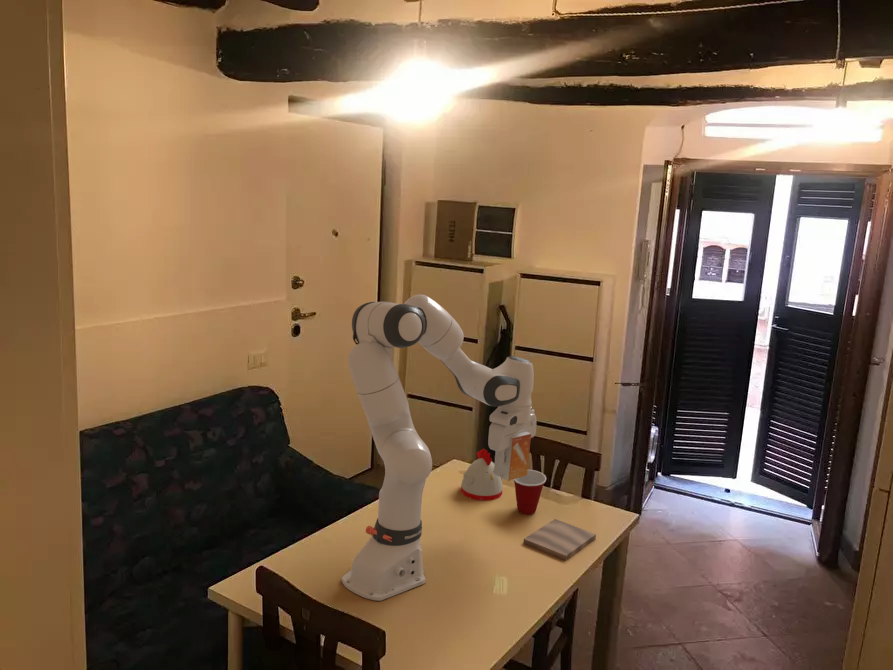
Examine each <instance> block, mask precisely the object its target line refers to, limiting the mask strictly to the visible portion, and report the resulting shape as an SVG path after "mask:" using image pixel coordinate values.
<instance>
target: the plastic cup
mask: <svg viewBox="0 0 893 670" xmlns="http://www.w3.org/2000/svg"><path fill="white" fill-rule="evenodd" d="M512 481H513V483H514V489H515V490H514V491H515V499H516V508H517V512H519V514H522V515H528V516H529V515H530V516H531V515H534V514H535V513H536V512H537V508H538V505H539V503H540V502H539V501H540V498H541V495H542V491H543V487H544V485H545V483H546V481H547V476H546V474H544V473H542V472H540V471H538V470H534V469H528V470H527V476H523V477H519V478H516V479H513V480H512Z"/></svg>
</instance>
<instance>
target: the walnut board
mask: <svg viewBox="0 0 893 670" xmlns="http://www.w3.org/2000/svg"><path fill="white" fill-rule="evenodd" d="M596 538H597V533H594V532H592V531H588V530H586V529H583V528H581V527H578V526H575V525H572V524H570V523H566V522H564V521H561V520H559V519H557V518H554V519H553V520H551V521H549V522H548V523H546V524H545V525H543V526H542V527H540V528H538V529H536V530H535V531H534V532H532V533H530V534H529V535H527V536H525V537H524V538H523V544H524V545H527V546H529V547H532V548H533V549H536V550H538V551H541V552H544V553H546V554H548V555H551V556H553V557H556V558H558V559H561V560H563V561H567V560H569V559H570V558H571V557H573V556H574V555H576V554H577V553H579V552H580V551H582V550H583V549H584V548H585V547H587V546H588V545H590V544H591V543H592V542H594V541H595V540H596Z"/></svg>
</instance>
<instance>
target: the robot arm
mask: <svg viewBox="0 0 893 670" xmlns="http://www.w3.org/2000/svg"><path fill="white" fill-rule="evenodd" d="M351 328H352V340H353V342H354V343H355V345H354V346H353V347H352V348H351V349H350V351H349V353H348V357H347V358H348V359H347V361H348V367H349V372H350V376H351V380H352V382H353V386H354V389H355V391H356V395H357V396H358V399H359V401H360V402H359V403H360V404H361V407H362V409H363V412H364V415H365V417H366V420H367V423H368V427H369V429H370V433H371V435H372V436H371V437H372V439H373V441H374V444H375V447H376V451H377V453H378V455H379V456H380V458H381V459H382V461H383V463H384V470H385V471H384V473H385V474H384V477H383V479H384V480H383V484H382V487H381V488H380V490H379V492H378V511H377V513H378V515H377V518H376V521H375V523H374V526H371V525H368V526H366V528H365V533H366V534H367V535H370V536H371V537H370V538H369V539H368V541H367V542H366V543H365V545H364V546H363V547H362V548H361V549H360V550H359V552H358V553H357V554H356V555H355V557H354V558H353V560H352V565H351V570H349V571H348V572H347V573H345V574H344V575H343V576H342V577H341V583H342V584H343V586H344V587H345V588H346V589H347V590H349V591H350V592H352V593H354V594H356V595H357V596H360V597H362V598H365V599H368V600H372V601H377V602H378V601H379V602H381V601H384V600H386V599H389V598H391V597H394V596H396V595H399V594H401V593H404V592H406V591H408V590H409V591H410V590H412V589H414V588H416V587H419V586H422V585H424V584H426V577H425V575H424V572H425V569H424V562H423V549H422V544H421V536H422V533H423V532H422V531H423V524H422V523H423V521H422V519H421V517H422V503H423V501H422V500H423V493H424V488H425V483H426V481H427V478H428V477H429V476H430V475H431V472H432V471H433V470H432V469H433V460H432V458H433V457H432V455H431V452H430V449H429V447H428V445H427V444H426V443H425V442H424V440H423V439H422V437H420V436H419V433H418V432H417V430H416V428H415V425H414V422H413V419H412V415H411V411H410V405H409V404H410V403H409V401H408V398H407V395H406V393H405V390H404V387H403V385H402V380H401V379H400V376H399V374H398V371H397V368H396V367H395V365H394V359H393V352H394V351H393V350H394V348H397V349H406V348H410V347H412V346H413V345H416V344H417V343H418V344H419V345H420V346H421V347H422V348H423V349H424V350H425V351H426V352H428V354H430V355H431V356H433V357H434V358H437V359H438V360H440V361H441V363H442V364H443V365H444V366H445V367H446V368H447V369H448V370H449V371H450V372H451V373H452V375H453V377H454V379H455V382H456V385H457V387H458V389H459V390H460V392H461V393H462V394H463V395H465V396H468V397H471V398H473V399H475V400H477V401H479V402H481V403H484V404H485V405H487V406H490V407H494V408H496V407H497V408H496V409H495V410H494V411H493V412H492V413H490V415H489V419H488V420H489V422H490V425H489V428H488V441H487V443H488V444H487V445H488V446H487V447H488V448H489V449H490V450H492V451H495V452H497V454H498V462H499V463H504V462H506V456H505V455H504V452H505V449H507V448H509V447H510V440H511V437H513V436H515V435H518V434H520V433H523V432H528V433H531V439H532V438H534V437H535V436H536V434H537V415H536V414H535V411H536V410H535V409H534V406H532V403H533V402H532V393H533V390H534V381H535V380H534V379H535V378H534V377H535V375H534V373H535V372H534V365H533V363H532V362H531V361H530V360H529V359H527V358H523V357H520V356H514V355H513V356H511V355H510V356H507V357H506V359H505V361H504V362H502V363H501V364H499V366H497V367H495V368H490V367H488V366H486V365H484V364H483V363H480V362H478V361H475V360H472V359H470V357H468V355H466V353H465V352H464V351H463V350H462V348H461V347H462V345H463V342H464V338H465V337H464V331H463V330H462V328H461V326H460V325H459V322H457V320H455V318H454V317H453V316H452V315H451V314H450V313H449V312H448V311H447V310H446V309H445V308H444V307H443V306H442V305H440V304H439V303H438V302H437V301H435V300H434V299H432V298H431V297H429V296H427V295H426V294H414V295H413V296H410V297H409V298H408V299H406V301H405V302H404V303H396V302H391V301H369V302H365V303H363V304H361V305H360V306H358V307H357V308H356V309H355V311H354V312H353V315H352V319H351Z"/></svg>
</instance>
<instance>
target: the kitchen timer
mask: <svg viewBox="0 0 893 670" xmlns="http://www.w3.org/2000/svg"><path fill="white" fill-rule="evenodd" d="M476 456H477V459H475V460H473V462H472V463H471V464H470V465H469V466H468V467H467V468H466V471H465V472H463V476H462V477H463V478H462V480H461V485H460V492H461V493H462V495H464V497H467V498H469V499H472V500H476V501H493V500H496V499H499V498H500V497H502V495H503V487H504V486H503V481H502V480H503V478H501V477H499V476H496V475H494V463H495V462H494V461H493V458H492V457H491V452H488V450H486V449H485V448H482V449H481V450H479V451H478V452H476Z"/></svg>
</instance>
